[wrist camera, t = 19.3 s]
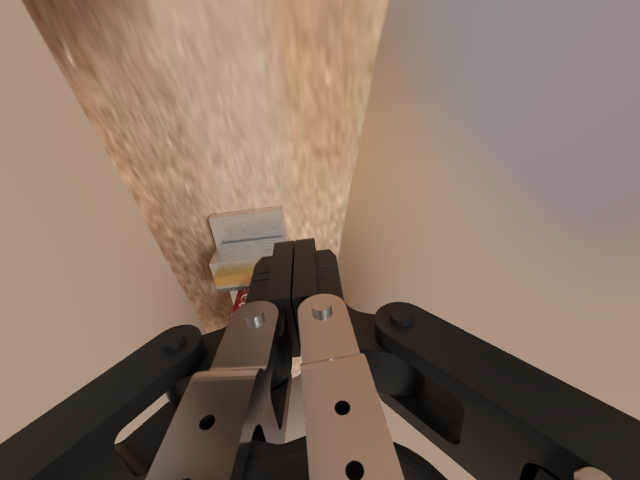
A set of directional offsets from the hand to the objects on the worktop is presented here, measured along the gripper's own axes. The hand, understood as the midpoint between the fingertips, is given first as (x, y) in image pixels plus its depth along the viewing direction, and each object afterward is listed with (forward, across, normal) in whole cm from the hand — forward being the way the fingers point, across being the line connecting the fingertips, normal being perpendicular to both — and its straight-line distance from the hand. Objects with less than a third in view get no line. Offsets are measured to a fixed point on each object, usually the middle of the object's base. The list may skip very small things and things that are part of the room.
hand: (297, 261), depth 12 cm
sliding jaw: (+25, +8, +13) cm, 30 cm away
